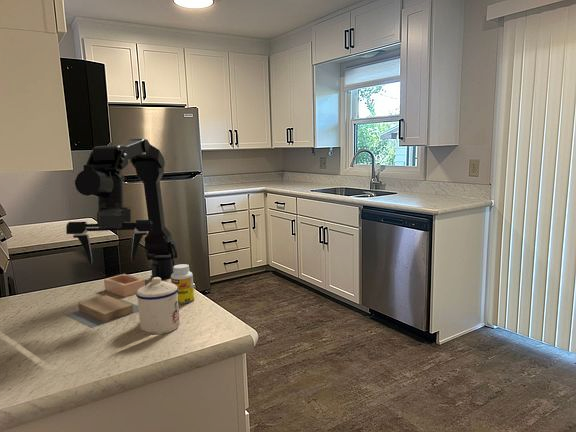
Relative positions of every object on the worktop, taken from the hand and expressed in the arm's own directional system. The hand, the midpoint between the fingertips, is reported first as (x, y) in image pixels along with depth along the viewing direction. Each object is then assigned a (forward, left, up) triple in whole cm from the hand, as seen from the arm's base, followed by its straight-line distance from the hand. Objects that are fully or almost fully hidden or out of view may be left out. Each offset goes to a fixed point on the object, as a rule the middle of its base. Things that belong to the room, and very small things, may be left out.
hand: (112, 262), depth 101 cm
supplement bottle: (-15, +6, -14) cm, 21 cm away
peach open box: (-11, -16, -14) cm, 24 cm away
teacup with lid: (-3, +13, -14) cm, 19 cm away
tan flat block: (+1, -4, -13) cm, 14 cm away
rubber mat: (+1, -4, -14) cm, 14 cm away
